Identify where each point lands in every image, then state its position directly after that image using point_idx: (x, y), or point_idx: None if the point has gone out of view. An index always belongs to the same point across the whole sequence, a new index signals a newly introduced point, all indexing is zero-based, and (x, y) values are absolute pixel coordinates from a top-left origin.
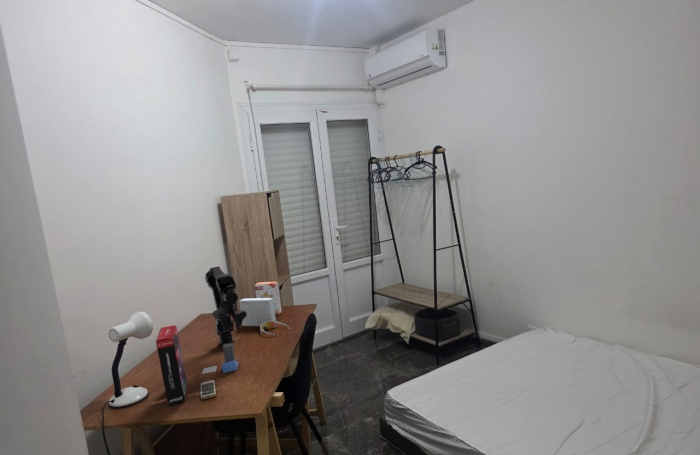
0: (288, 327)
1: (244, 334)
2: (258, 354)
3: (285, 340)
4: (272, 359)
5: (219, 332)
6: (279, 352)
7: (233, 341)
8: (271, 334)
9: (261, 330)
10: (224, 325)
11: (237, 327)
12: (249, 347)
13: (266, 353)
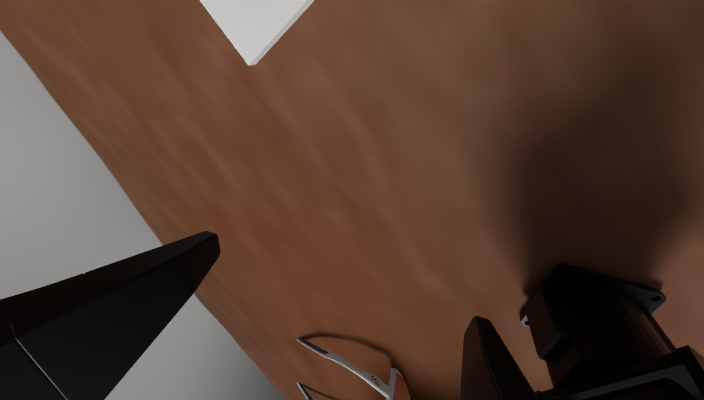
0: (305, 393)
1: None
2: (226, 151)
3: (231, 294)
4: (108, 99)
5: (694, 392)
6: (151, 181)
7: (524, 315)
8: (322, 349)
9: (381, 386)
10: (487, 395)
11: (124, 260)
12: (352, 237)
13: (197, 167)
